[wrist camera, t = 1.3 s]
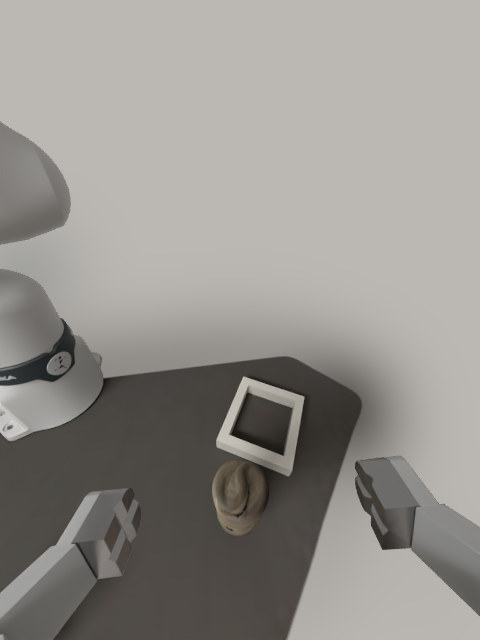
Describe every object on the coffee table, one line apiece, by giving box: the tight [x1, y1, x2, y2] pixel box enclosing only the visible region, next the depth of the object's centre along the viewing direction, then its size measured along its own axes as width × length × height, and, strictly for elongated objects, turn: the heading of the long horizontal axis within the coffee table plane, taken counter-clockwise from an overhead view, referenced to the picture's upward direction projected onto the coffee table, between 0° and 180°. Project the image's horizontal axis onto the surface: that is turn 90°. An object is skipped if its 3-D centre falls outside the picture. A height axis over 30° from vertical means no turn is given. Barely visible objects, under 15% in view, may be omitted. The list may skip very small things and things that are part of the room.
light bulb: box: [212, 460, 269, 537], centre depth 27 cm, size 6×6×15 cm
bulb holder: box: [216, 377, 304, 476], centre depth 42 cm, size 12×13×2 cm
